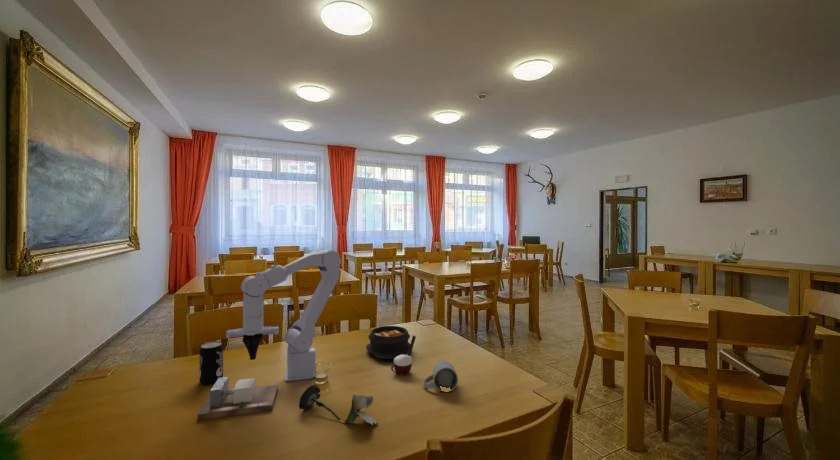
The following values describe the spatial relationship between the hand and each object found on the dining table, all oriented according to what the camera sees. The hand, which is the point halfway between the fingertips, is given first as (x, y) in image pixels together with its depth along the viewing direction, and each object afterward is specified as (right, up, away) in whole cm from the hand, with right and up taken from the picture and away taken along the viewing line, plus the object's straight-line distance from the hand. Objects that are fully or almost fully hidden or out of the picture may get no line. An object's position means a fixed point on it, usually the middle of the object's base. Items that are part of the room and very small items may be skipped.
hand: (253, 358), depth 105 cm
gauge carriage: (+1, -8, -10) cm, 13 cm away
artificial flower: (+31, -10, -15) cm, 36 cm away
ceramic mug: (+59, -10, +2) cm, 59 cm away
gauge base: (+1, -10, -9) cm, 13 cm away
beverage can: (-16, -9, +5) cm, 19 cm away
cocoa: (+46, -10, +13) cm, 49 cm away
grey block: (-4, -8, -10) cm, 14 cm away
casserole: (+40, -10, +32) cm, 52 cm away
